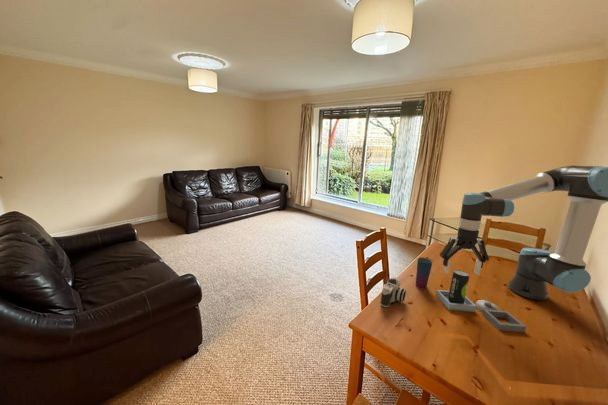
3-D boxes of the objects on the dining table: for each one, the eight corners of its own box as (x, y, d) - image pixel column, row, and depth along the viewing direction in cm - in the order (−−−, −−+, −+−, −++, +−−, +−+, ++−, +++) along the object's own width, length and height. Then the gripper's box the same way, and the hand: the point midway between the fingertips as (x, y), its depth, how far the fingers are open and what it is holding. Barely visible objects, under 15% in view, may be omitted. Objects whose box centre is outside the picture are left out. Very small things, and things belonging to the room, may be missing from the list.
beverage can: (444, 300, 115) (450, 270, 113) (453, 298, 118) (459, 268, 115) (457, 307, 110) (463, 276, 107) (466, 305, 112) (472, 274, 109)
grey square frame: (491, 304, 115) (493, 298, 115) (524, 332, 97) (526, 325, 96) (469, 302, 116) (471, 296, 115) (498, 330, 97) (500, 323, 97)
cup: (429, 291, 123) (434, 263, 121) (415, 289, 125) (419, 261, 122) (425, 285, 130) (430, 258, 127) (412, 282, 131) (416, 256, 129)
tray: (459, 297, 120) (460, 291, 119) (475, 312, 108) (476, 306, 108) (435, 295, 120) (436, 289, 120) (448, 310, 109) (449, 303, 108)
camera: (397, 312, 105) (400, 291, 103) (377, 304, 110) (380, 284, 108) (406, 296, 118) (409, 277, 116) (388, 290, 123) (391, 271, 121)
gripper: (491, 227, 111) (483, 271, 115) (435, 224, 112) (429, 268, 116) (504, 232, 103) (495, 278, 107) (444, 229, 104) (437, 275, 108)
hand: (461, 273), depth 112 cm, fingers open, 13 cm apart
